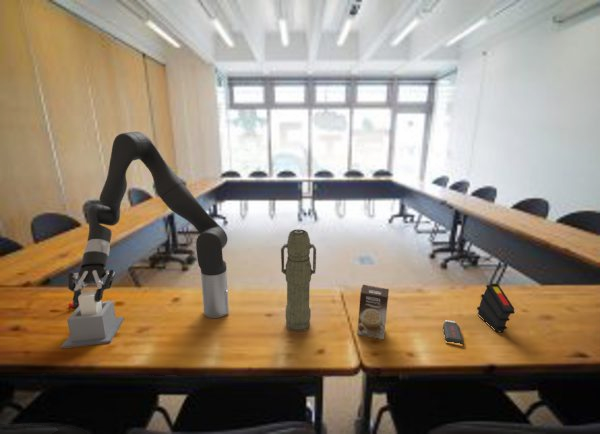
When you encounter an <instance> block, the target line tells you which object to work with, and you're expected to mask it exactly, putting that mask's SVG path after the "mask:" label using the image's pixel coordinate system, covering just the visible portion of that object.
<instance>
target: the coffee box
mask: <svg viewBox="0 0 600 434" xmlns="http://www.w3.org/2000/svg"><path fill="white" fill-rule="evenodd" d="M389 293H390V291H389V288H385V287H379V286H373V285H367V284H362V286H361V289H360V295H359V296H360V297H359V308H358V309H359V310H358V318H357V319H358V320H357V332H356V334H357V335H359V336H364V337H367V336H368V338H372V337H374V338H373V339H376V338H379V339H378V340H381V339H385V331H386V323H387V321H386V320H387V311H388V302H389Z"/></svg>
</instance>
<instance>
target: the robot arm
mask: <svg viewBox="0 0 600 434" xmlns="http://www.w3.org/2000/svg"><path fill="white" fill-rule="evenodd" d="M137 160H140V161H141V162H142V163H143V164H144V166H145V167H146V168H147V169H148V170H149V172H150V174H151V176H152V179H153V184H154V188H155V191H156V193H157V195H158V197H159V198H160V200H161V201H162V202H163V203H164V204H165V205H166V206H167V208H169V209H170V211H172V212H173V213H174V214H175V215H177V216H179V217H181V218H183V219H184V220H186V221H187V222H189V223H190V224H191V226H193V227H194V228H195V230H197V232H198V234H199V235H198V236H197V238H196V241H195V242H196V243H195V249H196V250H195V251H196V257H197V263H198V264H197V265H198V266H199V269H200V277H201V292H202V304H203V305H202V306H203V315H204V316H205V317H206V318H209V319H219V318H223V317H224V316H228V315H229V314H230V309H229V307H230V304H229V286H228V275H227V274H228V272H227V271H228V270H227V262H226V261H225V260H224V257H223V249H224V248H225V247H226V246H227V244H228V235H227V232H226V231H225V230H224V229H223V228H222V227H221V226H220V225H219V223H218V222H216V220H214V218H213V217H211V215H210V214H209V213H207V211H206V210H205V209H204V207H203V206H202V205H201V203H200V202H199V201H198V199H197V198H195V196H194V195H193V194H192V193H191V192H190V190H189V189H188V188H187V185H185V184H184V182H182V180H181V179H180V178H179V177H178V176H177V174H176V173H175V172H174V170H173V169H172V168H171V166H170V165H169V164H168V163H167V161H166V160H165V159H164V157H163V156H162V154H161V153H160V152H159V150H158V148H157V147H156V145H155V144H154V143H153V141H152V140H151V138H149V136H148V135H146V134H145V133H144V132H140V131H129V132H122V133H119V134H117V135H116V136H115V138H114V140H113V143H112V148H111V153H110V159H109V165H108V172H107V176H106V178H105V179H106V180H105V182H104V183H103V187H102V190H101V192H100V195H99V202H100V203H101V204H98V203H94V204H92V205H90V206H89V207H88V210H87V212H86V213H87V214H86V215H87V223H88V236H87V242H86V244H85V247H84V250H83V254H82V260H81V264H80V269H79V270H78V272H74V273H73V272H69V273H68V280H67V281H68V284H67V286H68V290H70V291H71V292H73V298H72V302H74V303H76V304H79V301H78V297H79V296H80V295H81V293H82V292H83V291H84V288H86V287H87V285H88V284H92V283H94V284H96V286H97V289H96V290H97V291H96V297H95V301H96V302H100V300H101V301H102V299H103V297H104V291H106V290H107V289H108V290H109V289H111V287H112V285H113V282H114V279H115V276H116V275H117V274H116V271H114V270H113V269H110V270H107V267H108V263H109V262H108V261H109V256H110V249H111V248H110V245H111V240H112V234H113V233H112V230H111V229H110V228H108V227H106V226H109V227H112V226H115V225H117V224H119V222H120V218H121V205H122V201H123V199H124V197H125V194H126V192H127V187H128V181H127V171H128V169H129V167H130V165H131V164H132V162H133V161H137ZM104 225H105V226H104ZM105 276H106V279H105V282H103V278H104V277H105ZM79 277H80V279H78V278H79ZM77 280H78V281H77ZM76 284H77V286H76Z"/></svg>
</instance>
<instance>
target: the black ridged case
mask: <svg viewBox="0 0 600 434" xmlns="http://www.w3.org/2000/svg"><path fill="white" fill-rule="evenodd" d="M485 287H486V289H485V290H484V293H482V294H481V295H480V298H481V299H480V303H479V306H477V308H476V309H477V311H478V312H477V315H478V314H479V315H480V316H481V317H482V318H483V319H484V320H485V321H486V322H487V323H488V324H489V325H490V326H492V327H493V328H494V329H495V330H496V331H504V332H505V330H507V329H508V327H507V326H506V325H507V322H509V321H510V318H509V317H510V316H511V314H515V312H516V311H515V308H514V306H513V304H512V303H511V301H510V299H508V297H507V295H506V294H505V292H504V291H503V289H502V288H501V286H500V285H499V284H498V283H490V284H487V285H485ZM488 324H487V325H488ZM489 325H488V326H489ZM490 326H489V327H490Z"/></svg>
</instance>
